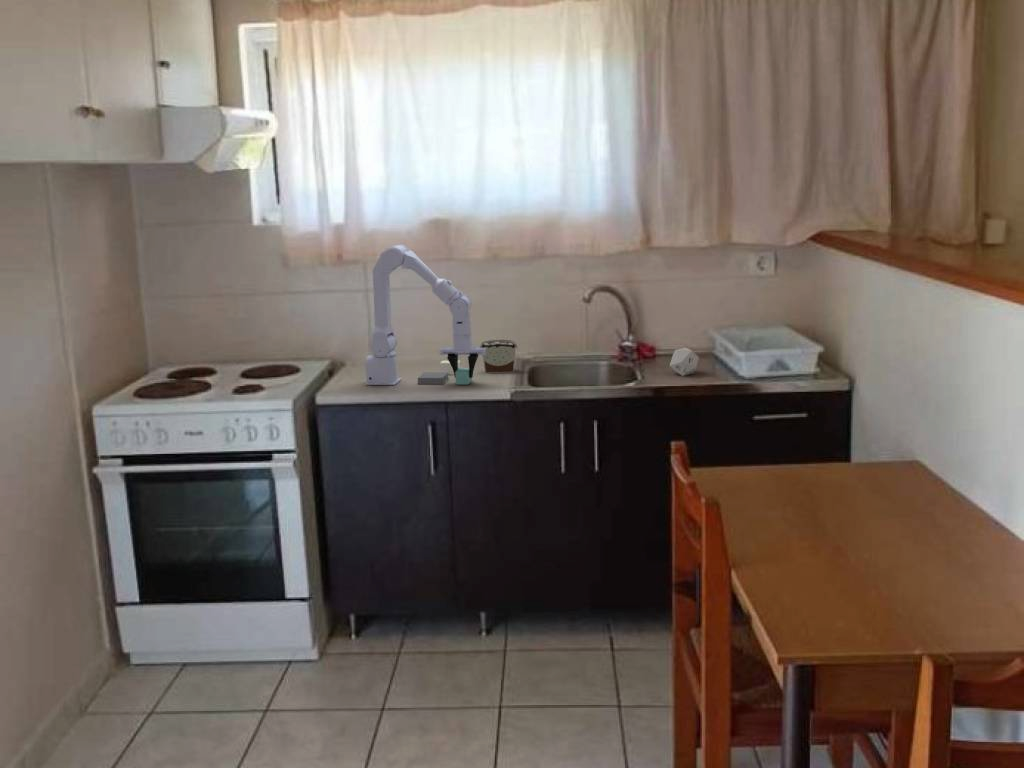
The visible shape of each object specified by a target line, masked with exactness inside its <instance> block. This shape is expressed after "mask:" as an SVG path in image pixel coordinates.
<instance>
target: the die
mask: <svg viewBox="0 0 1024 768" xmlns="http://www.w3.org/2000/svg"><path fill="white" fill-rule="evenodd" d="M699 358H700V357H699V356H698V355H697V354H696V353H695V351H693V350H692V349H690V348H688V347H683V348H678V349H675V350H674V352H673V354H672V357H671V360H670V364H669V367H670V368H671V369H673V371H675V372H676V373H677V374H678V375H680V376H681V377H682V376H684V377H685V376H688V375H692V374H694V373H695V371H696V369H697V367H698V363H699Z"/></svg>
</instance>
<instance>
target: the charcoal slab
mask: <svg viewBox="0 0 1024 768" xmlns="http://www.w3.org/2000/svg"><path fill="white" fill-rule="evenodd" d="M447 379H449V375H448V372H440V371H439V372H436V371H435V372H431V371H430V372H426V371H425V372H422V373H421V374H420V375H419V376H418V377H417V385H444V384H445V383H446V382H447V381H448V380H447ZM446 380H447V381H446ZM445 381H446V382H445Z"/></svg>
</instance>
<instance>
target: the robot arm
mask: <svg viewBox="0 0 1024 768" xmlns="http://www.w3.org/2000/svg"><path fill="white" fill-rule="evenodd" d="M400 266H401V269H406V270H411V271H414V273H416V274H417V275H418V276H419V277H420V278H422V279H423V280H424V281H425V282H427V284H428V285H430V286H431V290H432V291H431V292H432V293H433V294H434V295H435V296H436V297H437V298H438V299H439V300H441V302H442V303H444V304H445V305H446V306H448V307H449V308H448V309H449V311H450V313H451V314H452V339H453V340H452V343H453V347H441V348H439V356H444V355H447V357H446V358H447V360H448V361H449V362H450V364H451V366H452V369H453V371H454V379H456V375H455V372H456V371H457V370H458V360H459V355H461V356H463V355H468V356H467V360H468V368H469V378H472V379H473V376H474V371H475V365H476V363H477V360H478V359H479V355H481V356H483V355H486V348H480V347H478V346H477V347H474V346H472V345H473V344H472V323H471V322H472V321H471V311H470V310H471V308H472V300H471V299H470V298H469V296H468V295H466V294H464V293H463V292H462V291H461V290H460V291H459V290H458V289H457V288H456V287H455V286H454V285H453V284H452V281H451V280H450V279H446V278H439V276H437V275H436V274H435V272H433V271H432V270H431V269H430V267H428V265H427V264H425V263H424V262H423V261H422V259H420V258H419V256H418V255H417V254H416V253H415V252H414V251H413V250H411V249H409V248H408V247H407V245H405V244H402V243H398V244H395V245H394V246H390V247H388V248H386V249H385V250H384V251H383V252H381V253H380V255H379V258H378V259H377V261H376V263H375V265H374V267H373V269H372V283H373V284H372V287H373V307H374V308H373V309H374V327H373V328H374V329H373V330H372V339H371V342H370V345H369V347H370V348H369V349H370V351H371V353H372V355H369V354H368V355H367V356H366V358H365V375H366V376H365V377H366V383H365V385H366V386H370V385H372V386H383V385H384V386H396V385H397V383H399V382H400V381H401V380H402V377H398V370H397V369H398V368H397V352H396V351H395V349H396V347H397V345H398V340H397V337H396V335H395V331H394V330H395V329H394V327H393V325H392V309H391V308H392V307H391V306H392V305H391V286H390V285H391V284H390V283H391V282H390V275H391V274H392V273H393V272H394V271H395V270H396V269H398V268H399V267H400Z"/></svg>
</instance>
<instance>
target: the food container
mask: <svg viewBox="0 0 1024 768" xmlns="http://www.w3.org/2000/svg"><path fill="white" fill-rule="evenodd" d="M479 348H486V355H482V359H483V364H484V365H483V366H484V373H485V374H492V373H493V374H494V373H495V374H501V372H502V373H503V374H504V373H506V372H507V373H508V374H510V372H515V357H516V349H518V345H517V342H516V341H515V340H512V339H490V340H485V341H483V342H481V343H480V346H479Z"/></svg>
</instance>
